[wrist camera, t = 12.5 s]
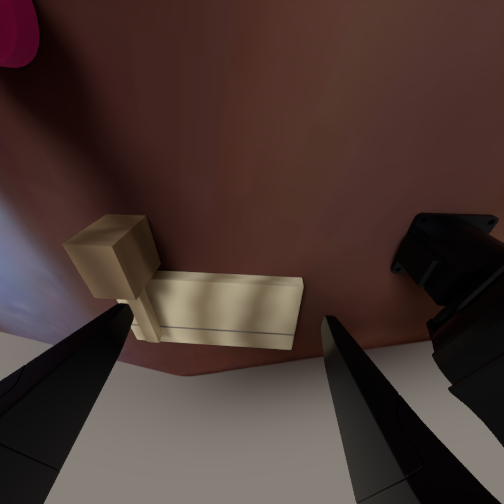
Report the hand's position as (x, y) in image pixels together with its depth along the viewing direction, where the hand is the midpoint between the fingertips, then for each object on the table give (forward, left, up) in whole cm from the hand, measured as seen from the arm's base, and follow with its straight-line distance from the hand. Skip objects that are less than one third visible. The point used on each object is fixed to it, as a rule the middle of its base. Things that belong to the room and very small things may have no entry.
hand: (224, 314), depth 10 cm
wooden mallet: (+12, +9, -12) cm, 19 cm away
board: (+5, +14, -12) cm, 19 cm away
